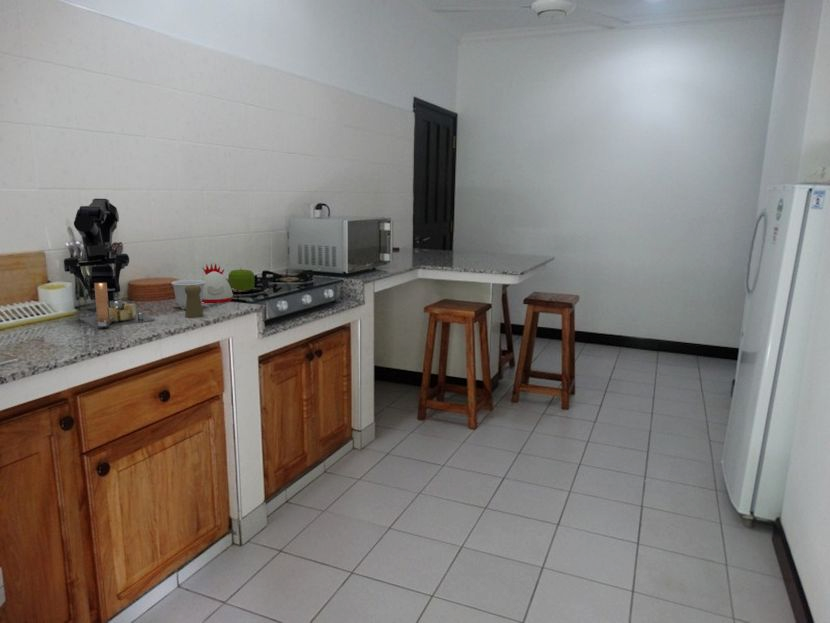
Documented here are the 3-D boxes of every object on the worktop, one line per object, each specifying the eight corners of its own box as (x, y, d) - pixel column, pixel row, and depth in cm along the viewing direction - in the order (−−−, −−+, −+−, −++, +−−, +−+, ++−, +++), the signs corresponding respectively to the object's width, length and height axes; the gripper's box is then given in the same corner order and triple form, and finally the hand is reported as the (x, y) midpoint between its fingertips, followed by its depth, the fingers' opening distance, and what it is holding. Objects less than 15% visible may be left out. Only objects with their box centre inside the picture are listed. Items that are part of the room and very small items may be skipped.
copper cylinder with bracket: (104, 314, 196) (101, 275, 194) (139, 314, 198) (136, 275, 196) (82, 327, 177) (78, 284, 174) (121, 327, 179) (117, 283, 176)
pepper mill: (205, 314, 204) (204, 283, 202) (200, 318, 198) (198, 286, 196) (188, 314, 204) (186, 283, 202) (182, 317, 198) (180, 286, 196)
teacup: (182, 314, 204) (180, 286, 202) (167, 307, 215) (166, 281, 213) (215, 310, 212) (214, 283, 210) (199, 304, 223) (198, 278, 221)
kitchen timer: (196, 298, 235) (194, 262, 232) (231, 296, 240) (229, 261, 238) (197, 304, 223) (195, 266, 220) (234, 302, 228) (233, 265, 225)
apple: (240, 295, 243) (239, 270, 241) (223, 293, 249) (222, 268, 247) (260, 292, 253) (259, 267, 250) (243, 289, 258) (242, 265, 256)
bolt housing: (78, 319, 192) (77, 300, 191) (134, 312, 205) (133, 294, 203) (97, 328, 180) (95, 308, 178) (155, 320, 192) (154, 301, 191)
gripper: (60, 235, 178) (69, 283, 176) (126, 231, 188) (135, 276, 186) (60, 248, 187) (68, 293, 185) (123, 243, 197) (131, 286, 195)
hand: (101, 287), depth 187 cm, fingers open, 9 cm apart
